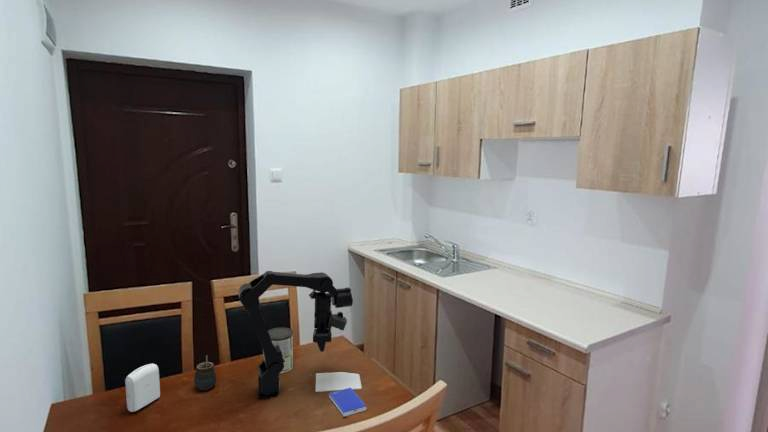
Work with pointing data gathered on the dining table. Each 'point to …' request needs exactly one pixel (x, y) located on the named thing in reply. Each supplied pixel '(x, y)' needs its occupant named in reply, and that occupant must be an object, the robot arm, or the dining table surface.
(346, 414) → the hard drive
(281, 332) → the coffee can
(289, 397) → the dining table surface
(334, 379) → the rubber mat
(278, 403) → the dining table surface
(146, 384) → the photo printer
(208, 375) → the mate gourd
